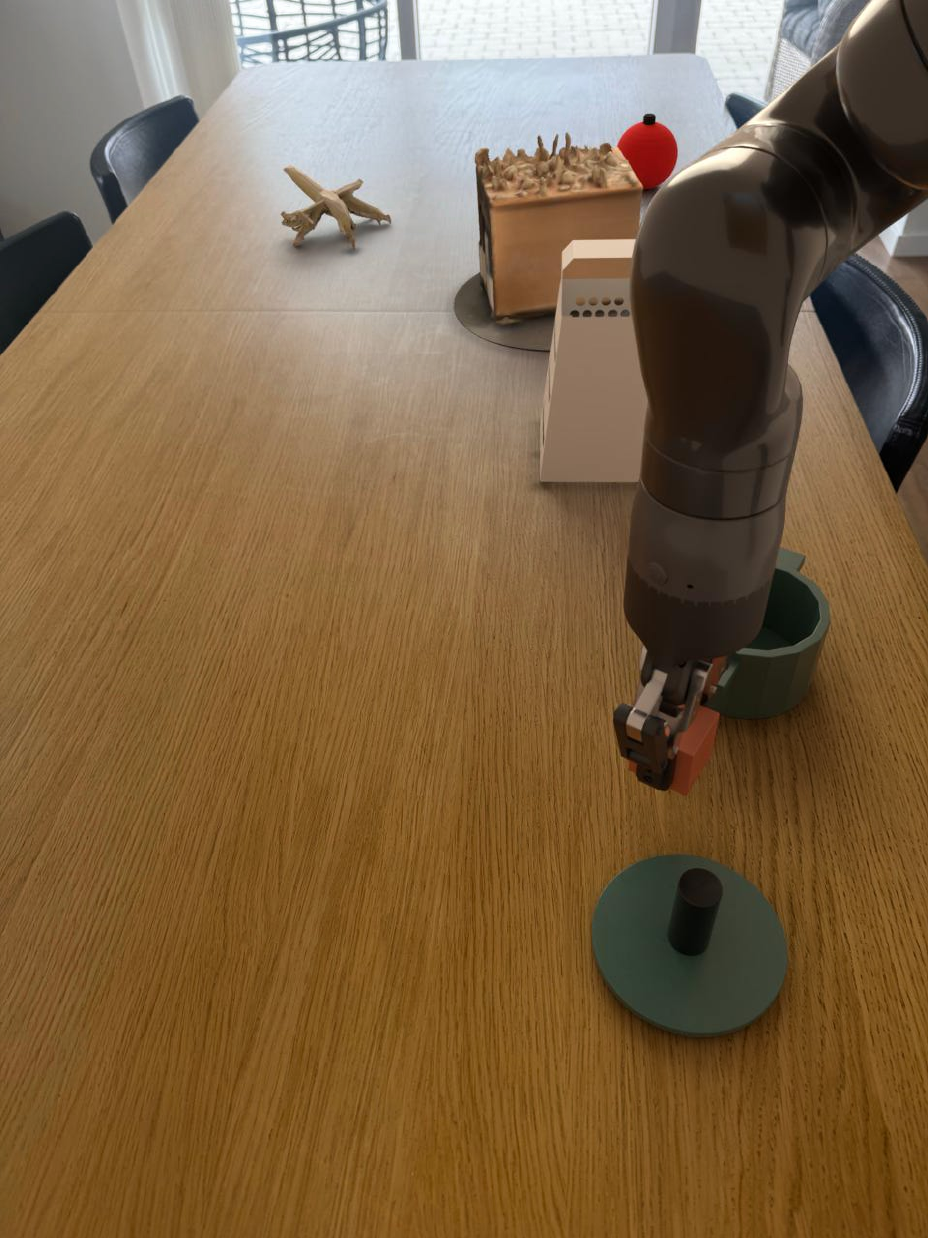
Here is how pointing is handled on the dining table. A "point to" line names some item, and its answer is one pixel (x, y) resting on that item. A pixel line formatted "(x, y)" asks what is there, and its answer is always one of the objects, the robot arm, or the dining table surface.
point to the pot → (777, 648)
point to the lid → (689, 945)
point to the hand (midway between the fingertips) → (669, 756)
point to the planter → (544, 236)
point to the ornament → (649, 151)
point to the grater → (593, 380)
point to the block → (692, 750)
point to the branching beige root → (328, 207)
